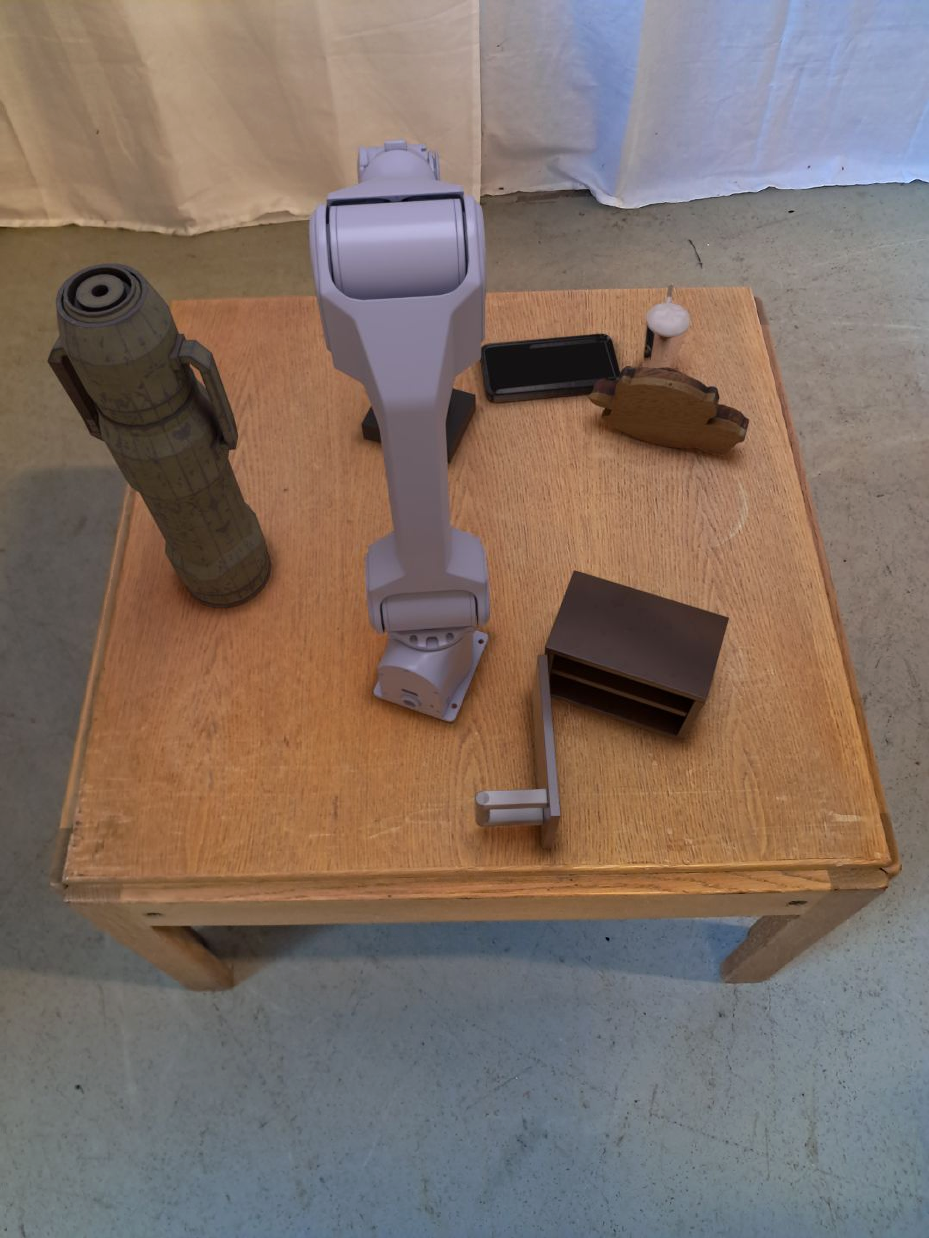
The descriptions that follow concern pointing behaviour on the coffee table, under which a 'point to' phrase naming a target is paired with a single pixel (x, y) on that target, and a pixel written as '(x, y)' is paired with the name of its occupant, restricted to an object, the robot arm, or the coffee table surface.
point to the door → (544, 800)
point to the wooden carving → (669, 410)
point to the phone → (547, 367)
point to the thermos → (161, 426)
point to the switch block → (456, 421)
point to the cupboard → (633, 655)
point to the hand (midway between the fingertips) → (416, 383)
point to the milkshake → (664, 333)
